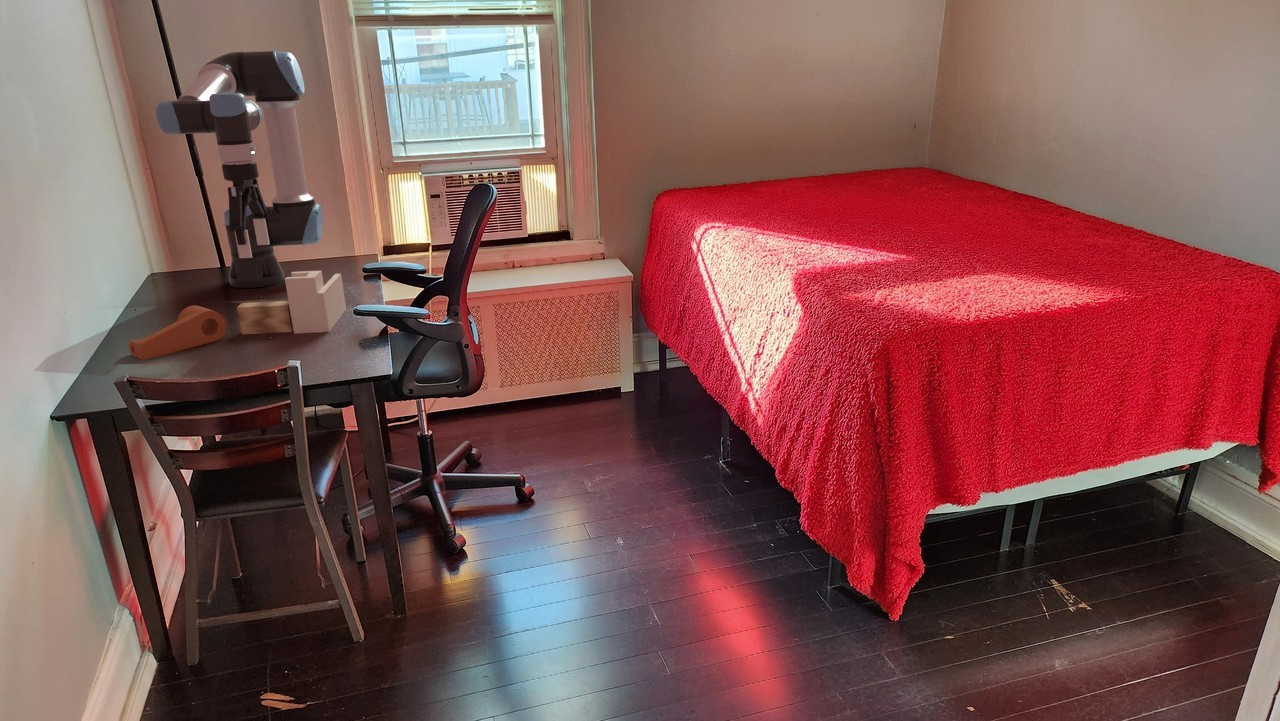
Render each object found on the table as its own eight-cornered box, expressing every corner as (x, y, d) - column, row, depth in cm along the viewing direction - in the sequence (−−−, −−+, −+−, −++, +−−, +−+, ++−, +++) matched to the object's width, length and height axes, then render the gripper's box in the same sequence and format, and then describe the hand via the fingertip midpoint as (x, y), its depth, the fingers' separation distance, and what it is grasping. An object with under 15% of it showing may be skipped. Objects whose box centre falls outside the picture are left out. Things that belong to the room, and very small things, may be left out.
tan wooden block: (241, 334, 208) (236, 307, 205) (247, 329, 212) (242, 302, 209) (304, 331, 209) (299, 304, 207) (308, 326, 213) (304, 300, 211)
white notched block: (294, 333, 208) (284, 278, 203) (313, 311, 226) (305, 260, 221) (329, 331, 209) (320, 277, 204) (346, 309, 227) (338, 258, 222)
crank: (213, 332, 211) (206, 302, 208) (229, 338, 206) (222, 307, 203) (128, 354, 196) (120, 322, 193) (143, 361, 191) (135, 328, 189)
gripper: (237, 169, 185) (254, 262, 192) (271, 154, 208) (285, 239, 215) (202, 170, 184) (220, 264, 192) (239, 155, 207) (255, 240, 215)
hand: (255, 251), depth 204 cm, fingers open, 13 cm apart
